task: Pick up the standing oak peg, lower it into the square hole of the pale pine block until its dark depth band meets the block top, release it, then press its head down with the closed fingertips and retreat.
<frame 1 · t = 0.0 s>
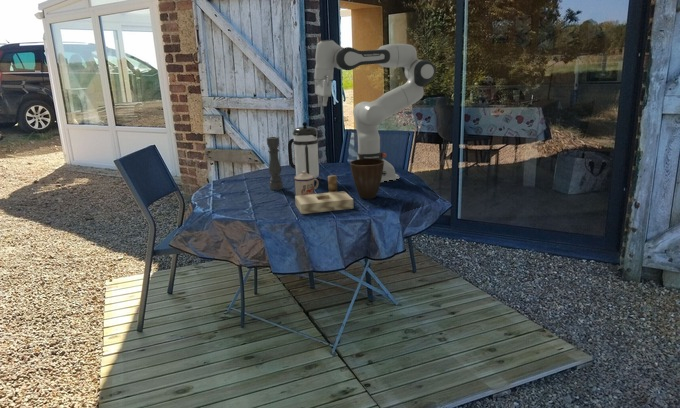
hand: (322, 105, 234), 39 cm above the table, tool pointing down, fingers open, 8 cm apart
candle holder: (276, 188, 240), on the table
plant pot: (367, 197, 219), on the table
coffee press: (305, 179, 256), on the table
block: (323, 206, 207), on the table
teacup with lid: (307, 196, 225), on the table
peg: (333, 197, 220), on the table
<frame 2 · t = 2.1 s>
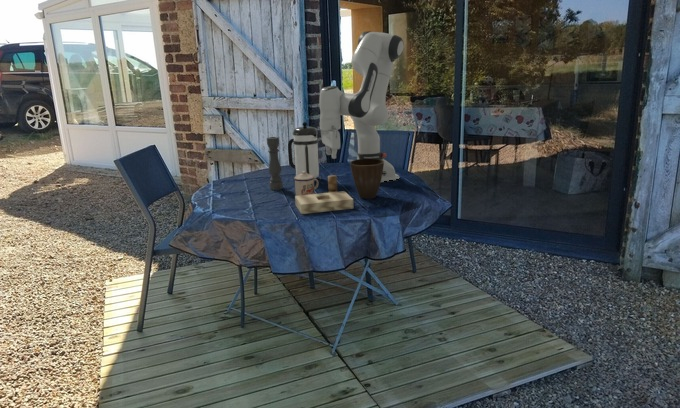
hand: (331, 156, 214), 19 cm above the table, tool pointing down, fingers open, 8 cm apart
nothing on the table moved.
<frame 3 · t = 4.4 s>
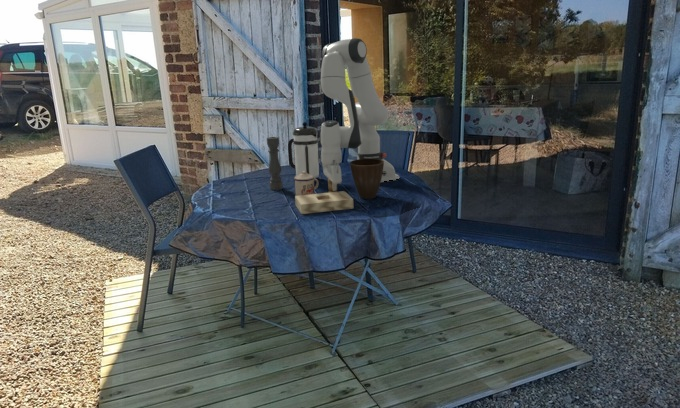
hand: (332, 189, 218), 4 cm above the table, tool pointing down, fingers closed on peg, 4 cm apart
peg: (333, 197, 219), on the table, touching gripper
everything else where it was.
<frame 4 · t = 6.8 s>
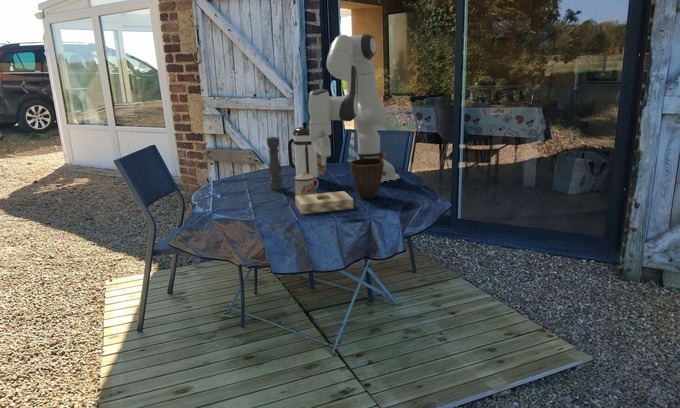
hand: (321, 164, 202), 18 cm above the table, tool pointing down, fingers closed on peg, 4 cm apart
peg: (321, 173, 203), point 14 cm above the table, touching gripper
everything else where it was.
when the fingers open (5 cm above the table, at t = 9.4 s): peg stays where it is, resting in block.
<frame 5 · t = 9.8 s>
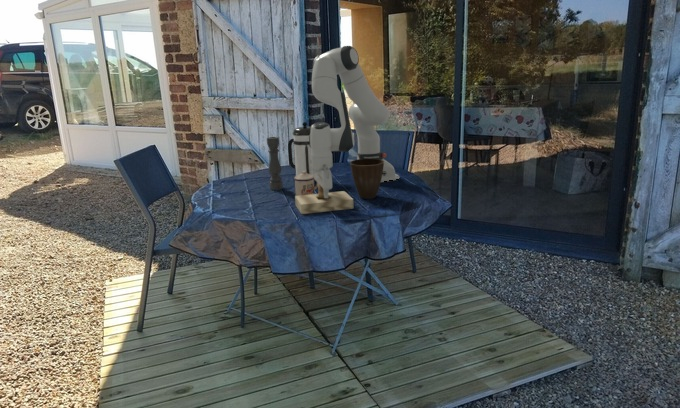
hand: (323, 195, 205), 5 cm above the table, tool pointing down, fingers open, 8 cm apart
peg: (323, 206, 207), resting in block
everything else where it was.
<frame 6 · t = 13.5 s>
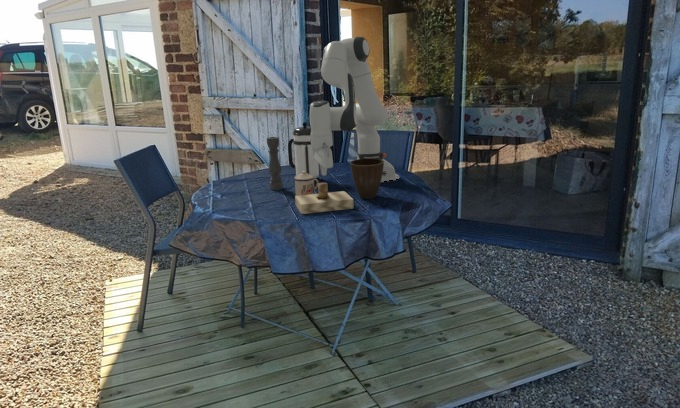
hand: (323, 174, 203), 14 cm above the table, tool pointing down, fingers closed
nothing on the table moved.
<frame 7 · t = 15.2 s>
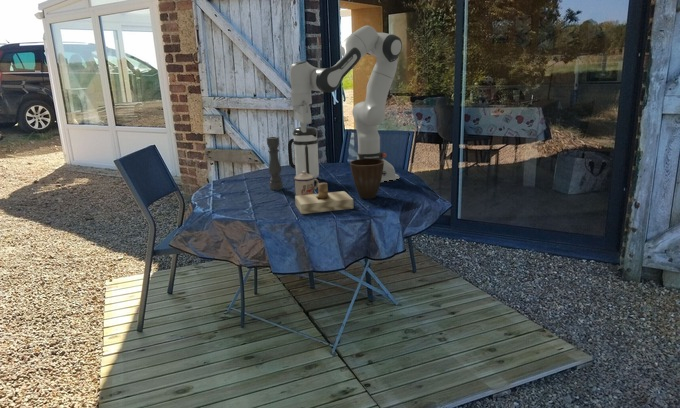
hand: (303, 132, 216), 29 cm above the table, tool pointing down, fingers closed
nothing on the table moved.
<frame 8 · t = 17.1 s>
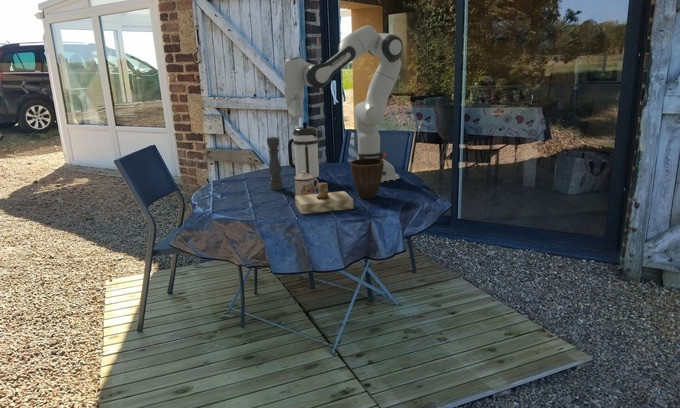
hand: (296, 125, 224), 31 cm above the table, tool pointing down, fingers closed
nothing on the table moved.
at the end: peg 0.1 cm off-centre on the block, point 0.0 cm above the block's base; peg tilted 0°; the gripper is holding nothing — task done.
